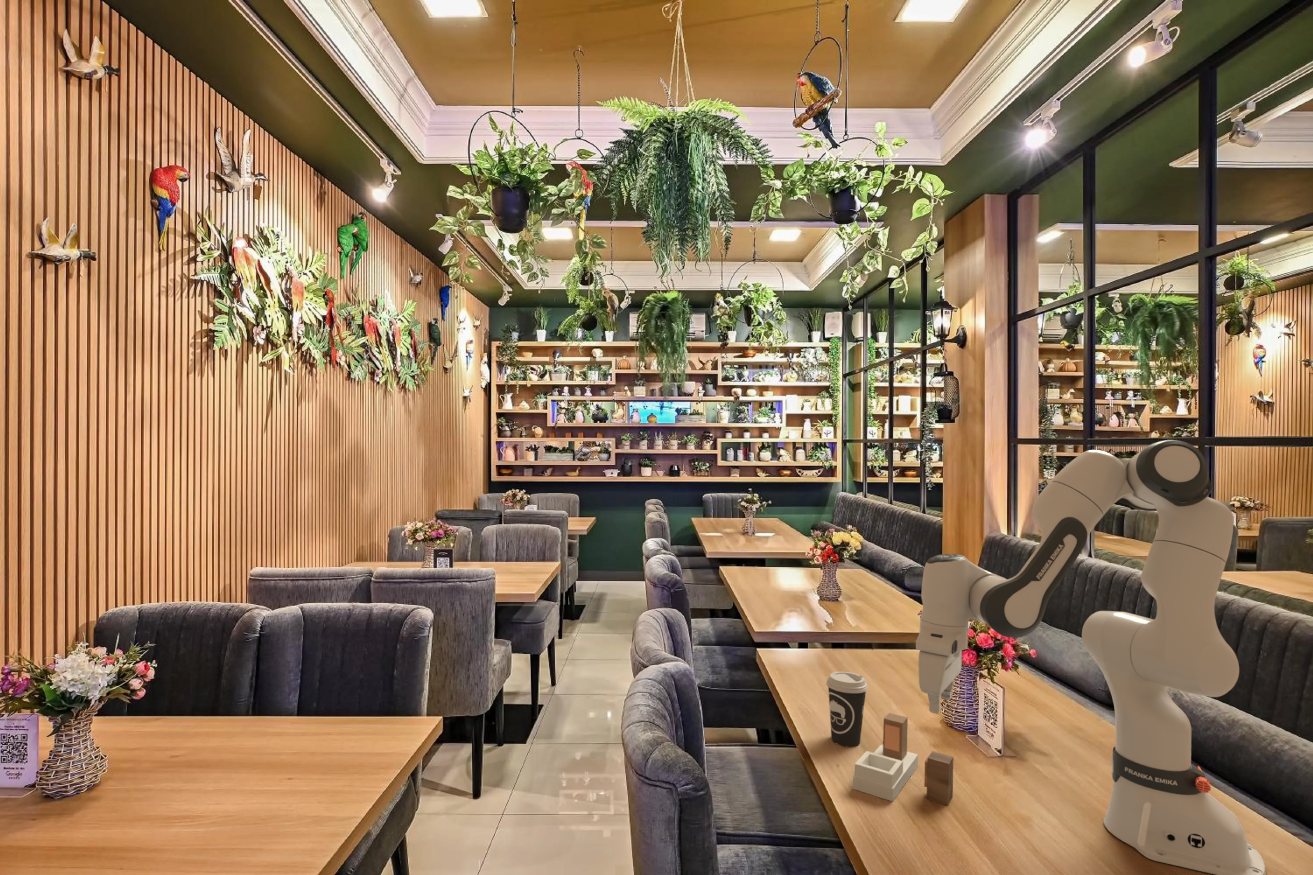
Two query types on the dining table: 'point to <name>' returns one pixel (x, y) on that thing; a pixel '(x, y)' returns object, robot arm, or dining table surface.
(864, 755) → the block holder
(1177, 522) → the robot arm
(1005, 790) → the dining table surface
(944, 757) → the stacked taupe block
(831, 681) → the coffee cup
